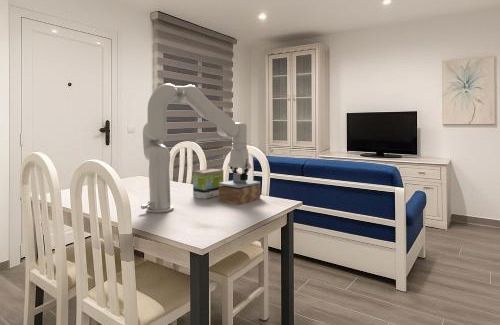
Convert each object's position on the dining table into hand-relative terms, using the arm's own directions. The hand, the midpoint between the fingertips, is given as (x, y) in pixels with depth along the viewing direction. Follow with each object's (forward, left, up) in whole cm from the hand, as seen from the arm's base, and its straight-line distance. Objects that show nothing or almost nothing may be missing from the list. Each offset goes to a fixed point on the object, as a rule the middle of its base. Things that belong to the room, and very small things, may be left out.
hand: (239, 179), depth 187 cm
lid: (0, 0, -3) cm, 3 cm away
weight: (0, 0, -2) cm, 2 cm away
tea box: (-4, +20, -12) cm, 23 cm away
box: (0, 0, -11) cm, 11 cm away
